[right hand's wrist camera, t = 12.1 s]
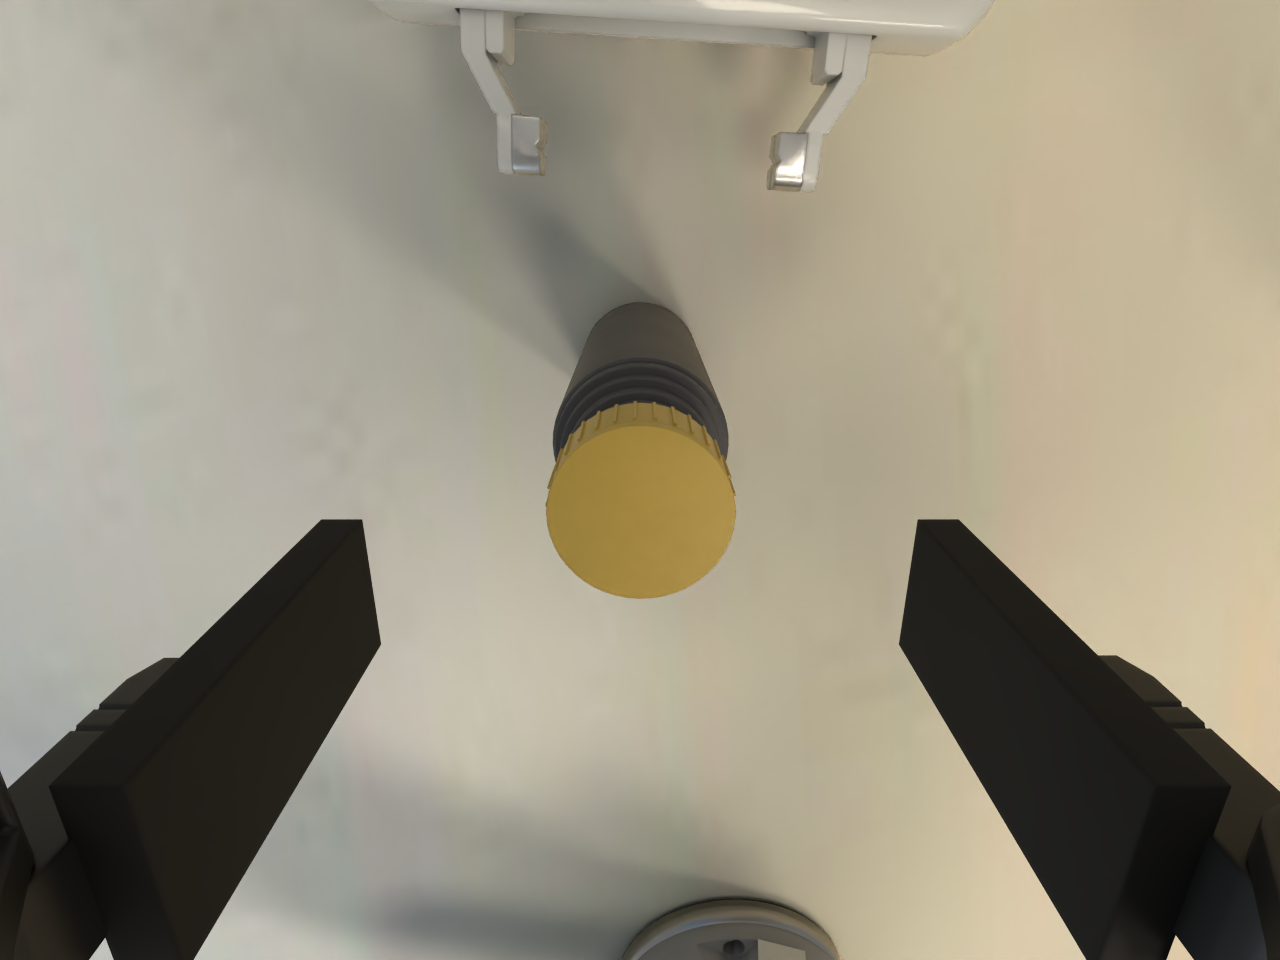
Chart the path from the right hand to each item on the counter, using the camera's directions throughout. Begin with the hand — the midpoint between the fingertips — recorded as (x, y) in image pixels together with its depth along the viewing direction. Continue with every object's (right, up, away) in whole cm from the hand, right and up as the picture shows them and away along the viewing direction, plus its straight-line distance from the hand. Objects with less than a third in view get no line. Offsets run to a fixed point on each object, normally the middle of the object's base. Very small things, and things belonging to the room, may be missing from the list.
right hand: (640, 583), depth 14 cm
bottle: (0, +8, +20) cm, 22 cm away
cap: (0, +1, +3) cm, 4 cm away
